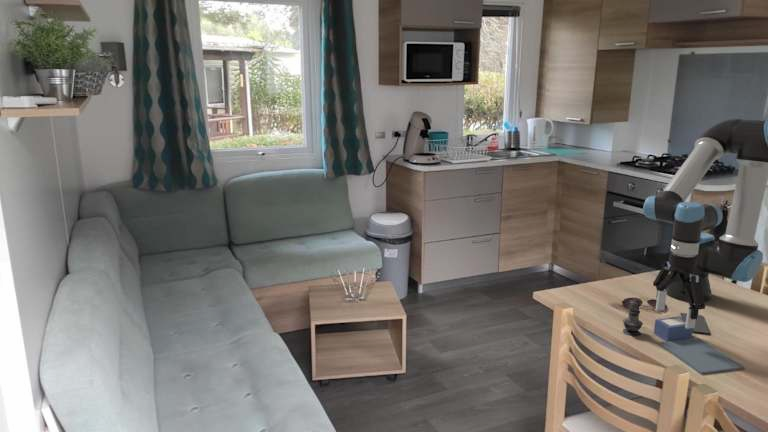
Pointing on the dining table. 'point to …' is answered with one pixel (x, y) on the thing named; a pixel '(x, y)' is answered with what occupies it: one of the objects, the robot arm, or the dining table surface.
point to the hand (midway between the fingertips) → (674, 318)
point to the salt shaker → (633, 319)
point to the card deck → (672, 329)
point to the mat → (700, 356)
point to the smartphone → (698, 325)
